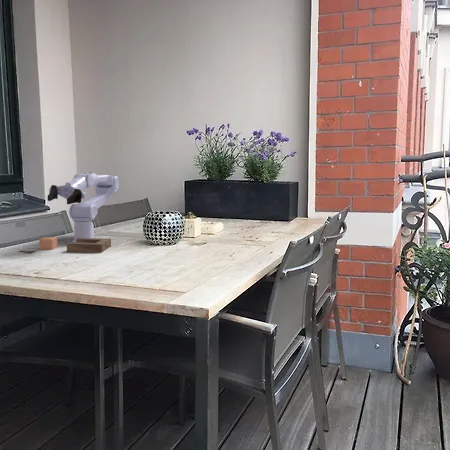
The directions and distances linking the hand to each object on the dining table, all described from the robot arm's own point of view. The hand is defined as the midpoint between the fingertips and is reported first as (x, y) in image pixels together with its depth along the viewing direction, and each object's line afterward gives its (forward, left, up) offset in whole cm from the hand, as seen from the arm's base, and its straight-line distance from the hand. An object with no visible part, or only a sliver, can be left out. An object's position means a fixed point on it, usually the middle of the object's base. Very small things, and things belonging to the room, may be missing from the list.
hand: (58, 200), depth 193 cm
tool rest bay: (-2, +11, -19) cm, 22 cm away
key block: (-2, -5, -19) cm, 20 cm away
